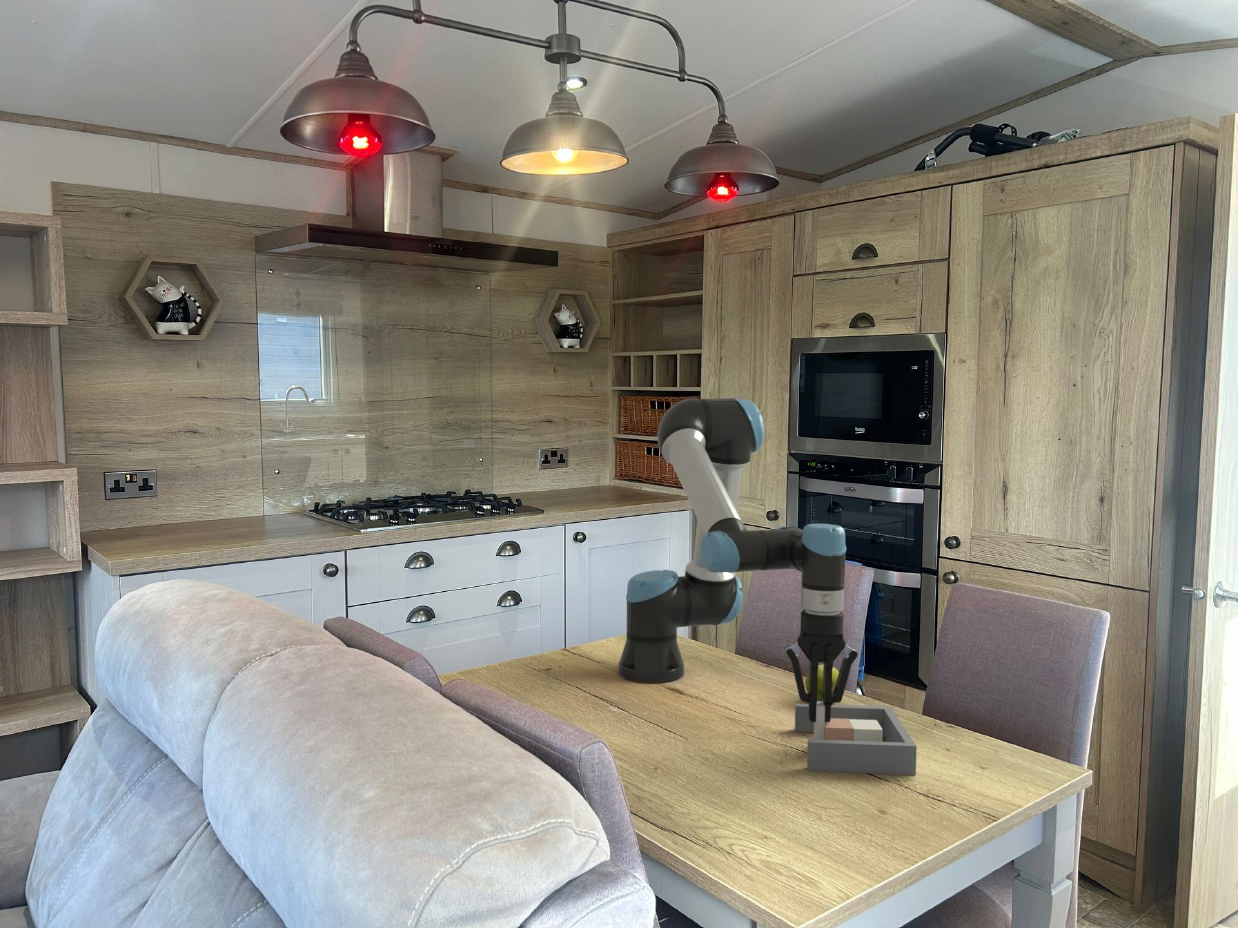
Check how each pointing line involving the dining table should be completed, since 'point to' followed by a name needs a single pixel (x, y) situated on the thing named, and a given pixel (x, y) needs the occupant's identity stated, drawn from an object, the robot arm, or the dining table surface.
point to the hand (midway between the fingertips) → (818, 738)
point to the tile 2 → (867, 730)
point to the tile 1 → (838, 730)
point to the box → (860, 744)
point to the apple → (820, 682)
